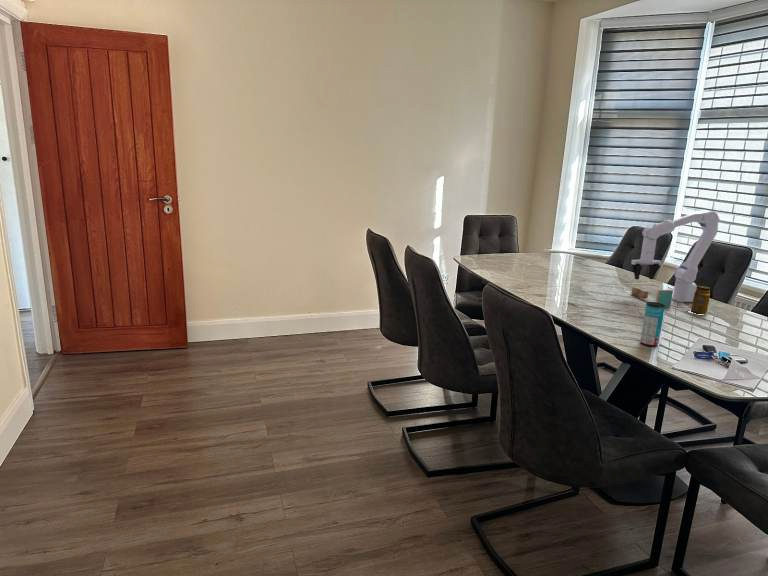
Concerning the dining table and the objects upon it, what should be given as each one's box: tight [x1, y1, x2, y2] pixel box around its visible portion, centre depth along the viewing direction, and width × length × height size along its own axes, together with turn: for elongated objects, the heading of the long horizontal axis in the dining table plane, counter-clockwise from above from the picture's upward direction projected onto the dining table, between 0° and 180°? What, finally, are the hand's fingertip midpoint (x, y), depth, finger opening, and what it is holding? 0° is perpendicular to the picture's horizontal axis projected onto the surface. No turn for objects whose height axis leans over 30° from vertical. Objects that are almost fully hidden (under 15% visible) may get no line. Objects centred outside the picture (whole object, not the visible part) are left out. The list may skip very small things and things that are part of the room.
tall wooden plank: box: [631, 286, 656, 303], centre depth 257 cm, size 17×6×4 cm, turn 7°
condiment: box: [684, 285, 711, 316], centre depth 234 cm, size 7×8×12 cm
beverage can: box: [639, 302, 666, 348], centre depth 188 cm, size 6×6×15 cm
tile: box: [655, 289, 674, 308], centre depth 242 cm, size 7×1×8 cm, turn 98°
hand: (643, 279), depth 257 cm, fingers open, 7 cm apart
